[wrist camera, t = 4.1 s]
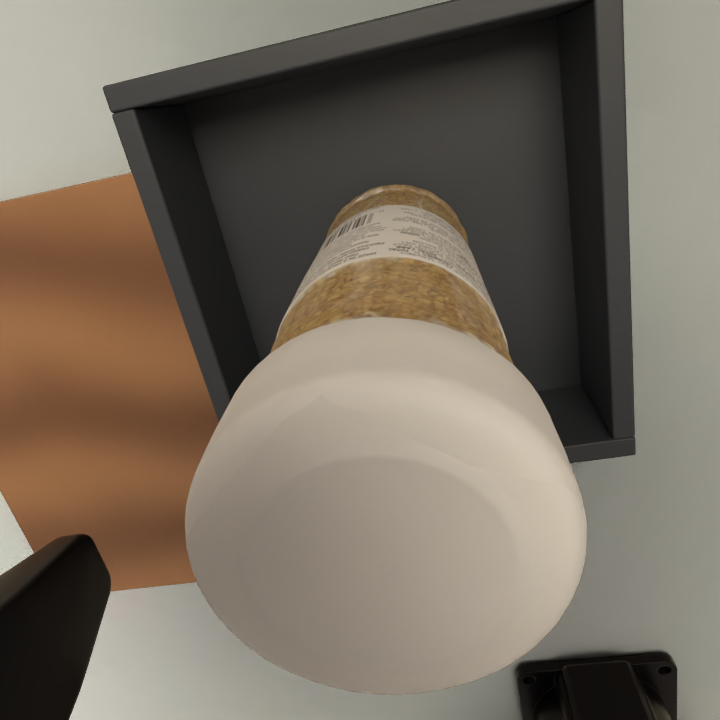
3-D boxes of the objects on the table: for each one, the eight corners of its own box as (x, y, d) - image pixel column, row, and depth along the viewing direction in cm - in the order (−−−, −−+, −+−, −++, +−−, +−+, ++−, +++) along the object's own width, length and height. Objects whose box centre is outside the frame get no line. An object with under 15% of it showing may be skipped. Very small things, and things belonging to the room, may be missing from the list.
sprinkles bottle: (368, 345, 20) (310, 751, 8) (296, 225, 18) (85, 496, 6) (495, 282, 19) (660, 646, 7) (429, 149, 17) (485, 300, 5)
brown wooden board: (282, 564, 25) (280, 573, 24) (63, 588, 26) (57, 597, 26) (149, 168, 18) (143, 170, 18) (-129, 230, 20) (-141, 233, 19)
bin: (597, 393, 20) (636, 455, 17) (271, 440, 22) (246, 505, 19) (575, -15, 16) (622, -43, 12) (160, 86, 17) (100, 86, 14)
